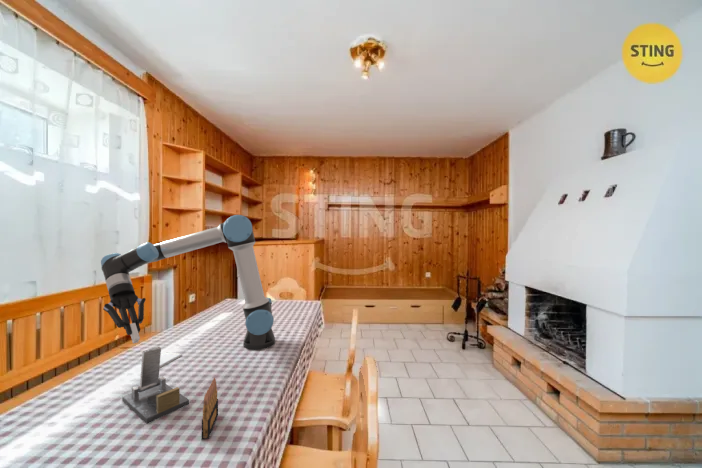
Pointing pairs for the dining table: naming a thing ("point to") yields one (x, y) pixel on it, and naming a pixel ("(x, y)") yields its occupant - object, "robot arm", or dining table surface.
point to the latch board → (147, 408)
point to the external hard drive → (168, 358)
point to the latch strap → (150, 369)
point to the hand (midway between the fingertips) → (136, 340)
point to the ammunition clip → (210, 410)
